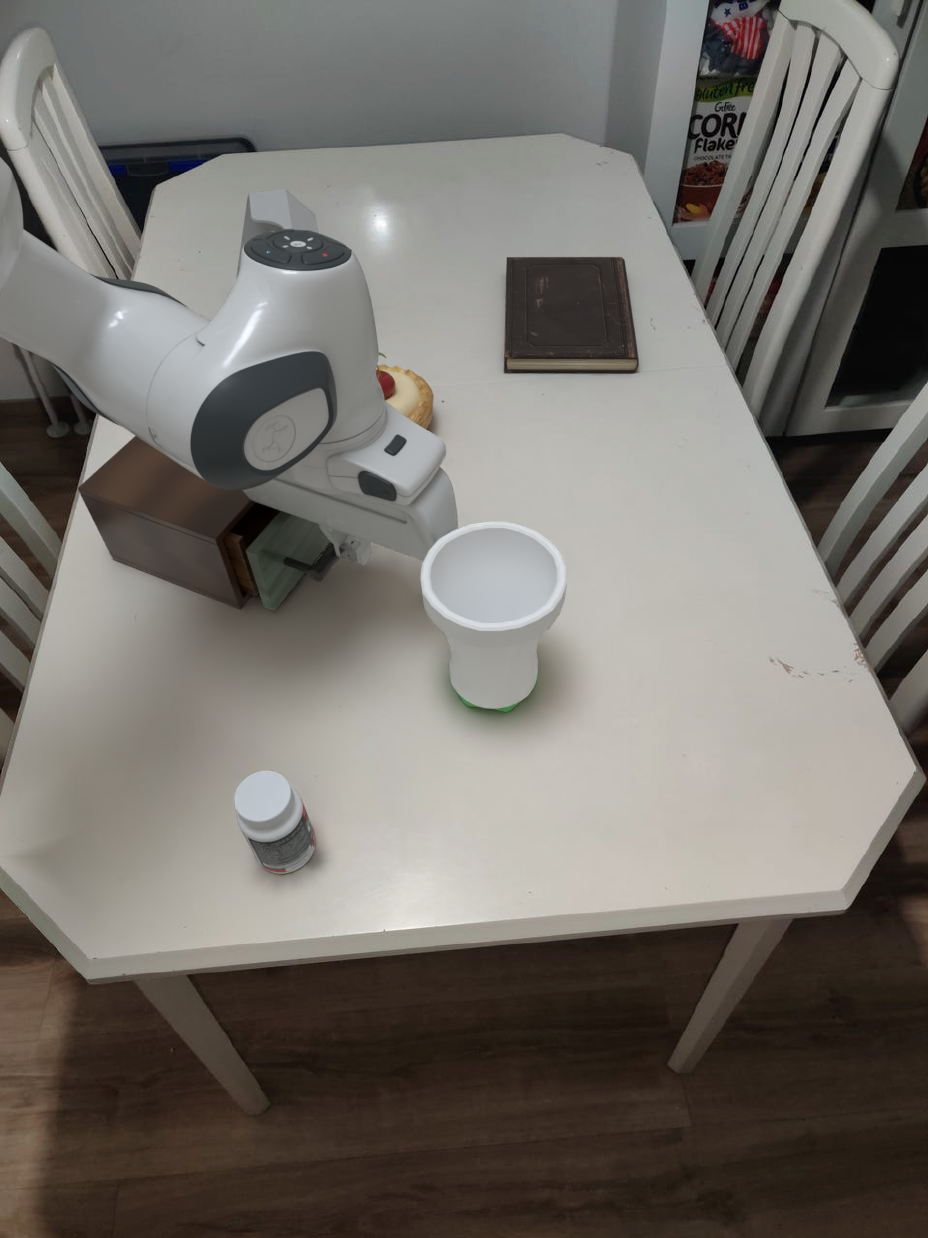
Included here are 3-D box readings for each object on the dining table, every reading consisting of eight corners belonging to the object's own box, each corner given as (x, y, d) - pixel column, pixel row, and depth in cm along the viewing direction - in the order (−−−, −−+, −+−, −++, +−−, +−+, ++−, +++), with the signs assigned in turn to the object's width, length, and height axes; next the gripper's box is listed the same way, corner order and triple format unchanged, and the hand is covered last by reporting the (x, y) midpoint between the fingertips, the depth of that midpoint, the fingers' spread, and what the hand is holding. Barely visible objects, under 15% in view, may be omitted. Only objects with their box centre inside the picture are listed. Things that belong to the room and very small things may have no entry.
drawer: (379, 538, 87) (370, 479, 80) (312, 626, 80) (297, 569, 74) (226, 485, 92) (207, 426, 86) (151, 564, 85) (125, 506, 79)
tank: (375, 373, 105) (363, 277, 96) (243, 393, 104) (217, 297, 94) (350, 269, 121) (338, 177, 111) (235, 284, 119) (212, 192, 109)
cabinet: (316, 517, 90) (300, 445, 82) (240, 609, 82) (215, 538, 75) (195, 476, 95) (169, 403, 87) (112, 559, 87) (76, 487, 80)
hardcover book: (503, 372, 105) (504, 356, 103) (506, 272, 119) (506, 256, 117) (637, 373, 104) (639, 356, 102) (623, 272, 118) (625, 256, 117)
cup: (529, 617, 81) (535, 505, 70) (577, 712, 74) (592, 605, 63) (414, 649, 79) (401, 540, 68) (452, 750, 72) (445, 647, 61)
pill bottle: (328, 844, 67) (311, 792, 61) (281, 888, 65) (257, 839, 59) (289, 806, 69) (268, 753, 63) (242, 847, 67) (215, 797, 61)
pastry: (322, 464, 95) (308, 397, 88) (337, 397, 103) (325, 331, 96) (431, 465, 95) (426, 397, 88) (438, 398, 102) (434, 331, 95)
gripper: (202, 424, 70) (241, 544, 81) (426, 498, 64) (436, 616, 75) (248, 381, 73) (279, 501, 84) (464, 447, 67) (468, 567, 78)
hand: (354, 556), depth 79 cm, fingers closed
